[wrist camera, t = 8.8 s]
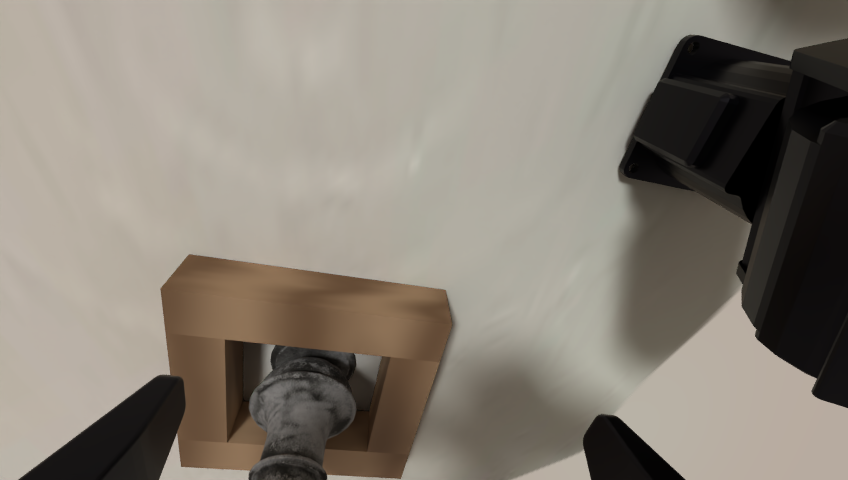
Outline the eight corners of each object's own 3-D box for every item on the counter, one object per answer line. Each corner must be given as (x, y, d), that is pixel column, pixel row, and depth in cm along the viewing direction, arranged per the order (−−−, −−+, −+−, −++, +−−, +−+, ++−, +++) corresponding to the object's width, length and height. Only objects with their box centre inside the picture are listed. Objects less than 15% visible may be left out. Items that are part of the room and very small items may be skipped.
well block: (445, 289, 23) (452, 324, 21) (399, 438, 30) (400, 478, 27) (188, 254, 21) (160, 288, 18) (200, 424, 28) (181, 466, 25)
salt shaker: (263, 323, 24) (164, 568, 13) (363, 329, 24) (343, 564, 14) (268, 391, 26) (189, 635, 16) (357, 394, 27) (336, 630, 17)
